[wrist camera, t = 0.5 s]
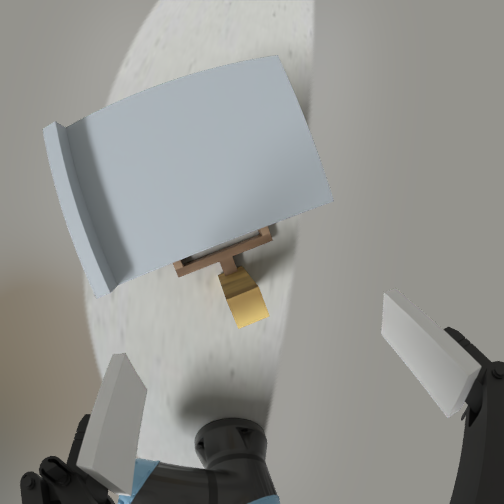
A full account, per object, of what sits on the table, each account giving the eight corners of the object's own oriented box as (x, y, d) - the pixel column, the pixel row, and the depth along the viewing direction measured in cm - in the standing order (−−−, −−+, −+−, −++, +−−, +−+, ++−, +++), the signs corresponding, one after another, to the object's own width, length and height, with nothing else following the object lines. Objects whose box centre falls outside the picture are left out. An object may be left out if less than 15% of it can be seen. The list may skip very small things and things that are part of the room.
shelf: (269, 200, 43) (364, 194, 18) (153, 245, 41) (96, 298, 16) (243, 129, 41) (304, 41, 15) (127, 172, 38) (42, 129, 13)
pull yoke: (281, 275, 45) (310, 298, 34) (195, 310, 44) (196, 345, 32) (227, 122, 40) (238, 92, 28) (135, 155, 38) (113, 137, 26)
